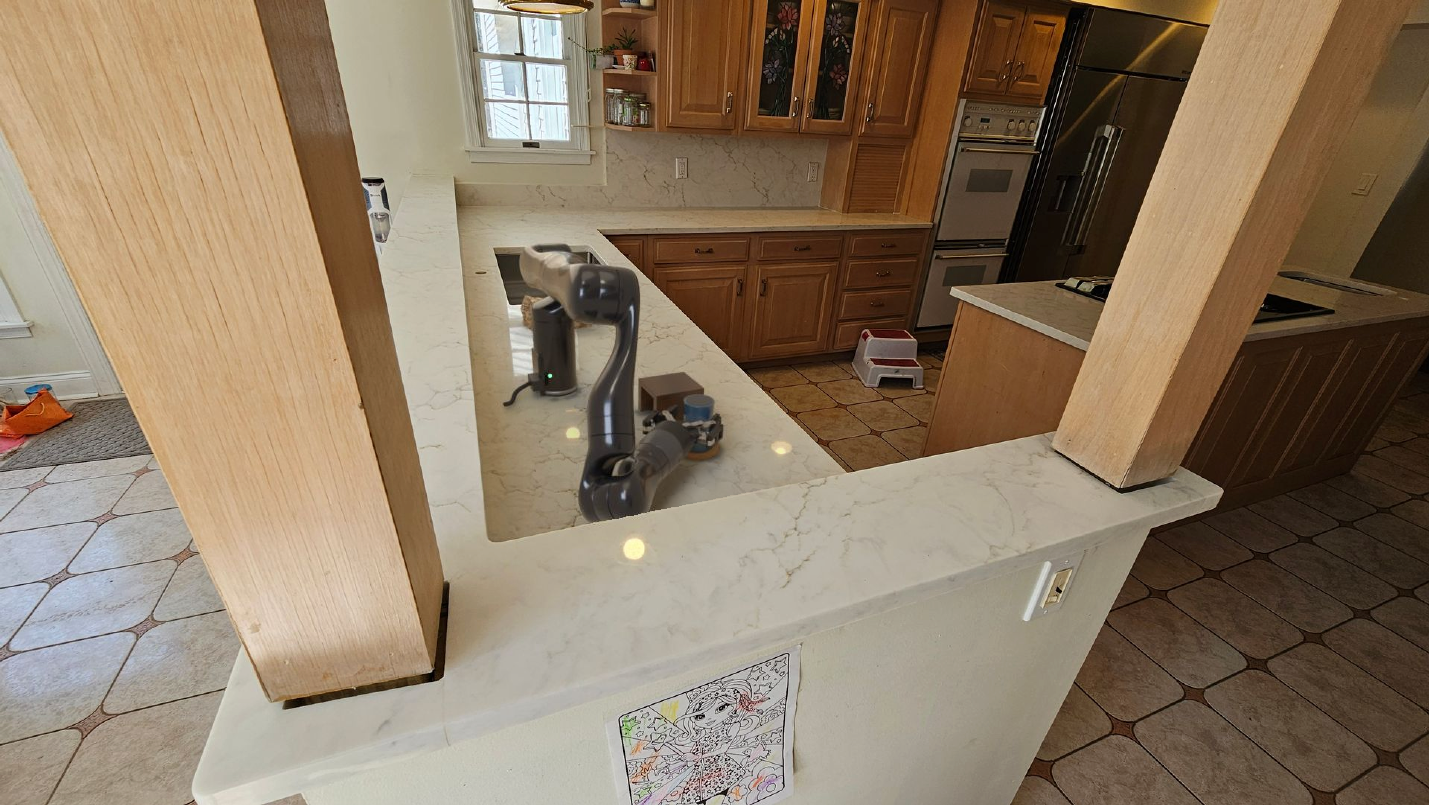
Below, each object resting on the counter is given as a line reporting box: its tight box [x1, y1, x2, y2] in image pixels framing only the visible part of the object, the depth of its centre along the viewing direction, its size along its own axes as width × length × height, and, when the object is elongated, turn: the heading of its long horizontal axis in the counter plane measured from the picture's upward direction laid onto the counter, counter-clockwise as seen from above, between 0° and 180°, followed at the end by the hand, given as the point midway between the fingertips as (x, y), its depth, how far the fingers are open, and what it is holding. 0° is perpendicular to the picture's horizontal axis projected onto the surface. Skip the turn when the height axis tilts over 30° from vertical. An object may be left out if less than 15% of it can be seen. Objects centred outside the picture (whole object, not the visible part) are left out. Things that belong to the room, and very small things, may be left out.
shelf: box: [637, 371, 705, 423], centre depth 132 cm, size 11×10×8 cm
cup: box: [683, 394, 716, 453], centre depth 119 cm, size 6×6×10 cm
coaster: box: [684, 442, 720, 461], centre depth 122 cm, size 9×9×1 cm
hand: (697, 413), depth 118 cm, fingers open, 8 cm apart
